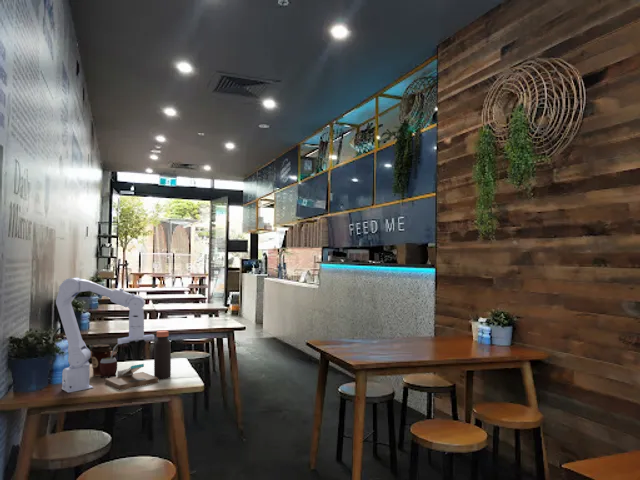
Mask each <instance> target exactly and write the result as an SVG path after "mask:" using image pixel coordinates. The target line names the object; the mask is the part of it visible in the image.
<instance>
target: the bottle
mask: <svg viewBox="0 0 640 480" xmlns="http://www.w3.org/2000/svg"><path fill="white" fill-rule="evenodd" d="M169 336H170V335H169V330H164V329H163V330H157V331H156V339H157V340H156V341H154V344H153V345H154V346H153V348H154V349H153V351H154V352H153V353H154V354H153V357H154V359H153V360H154V363H153V366H154V367H153V368H154V369H153V371H154V372H153V374H154V375H153V376H155V377H157V378H158V380H166V379H170V378H171V375H172V373H171V372H172V368H171V367H172V366H171V365H172V362H171V361H172V360H171V359H172V358H171V357H172V355H171V353H172V351H171V350H172V346H171V345H172V342H171V340H170V339H168V338H169Z"/></svg>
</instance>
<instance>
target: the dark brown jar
mask: <svg viewBox="0 0 640 480" xmlns="http://www.w3.org/2000/svg"><path fill="white" fill-rule="evenodd" d="M89 350H90V352H91V357H90V358H91V364H92V373H93V374H92V376H94V377H101V373H100V361H101V360H102V359H103V358H105V359H106V358H107V357H111V355H112V351H113V348H112V347H111V344H101V343H99V344H93V345H92V347H91V349H89Z"/></svg>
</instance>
